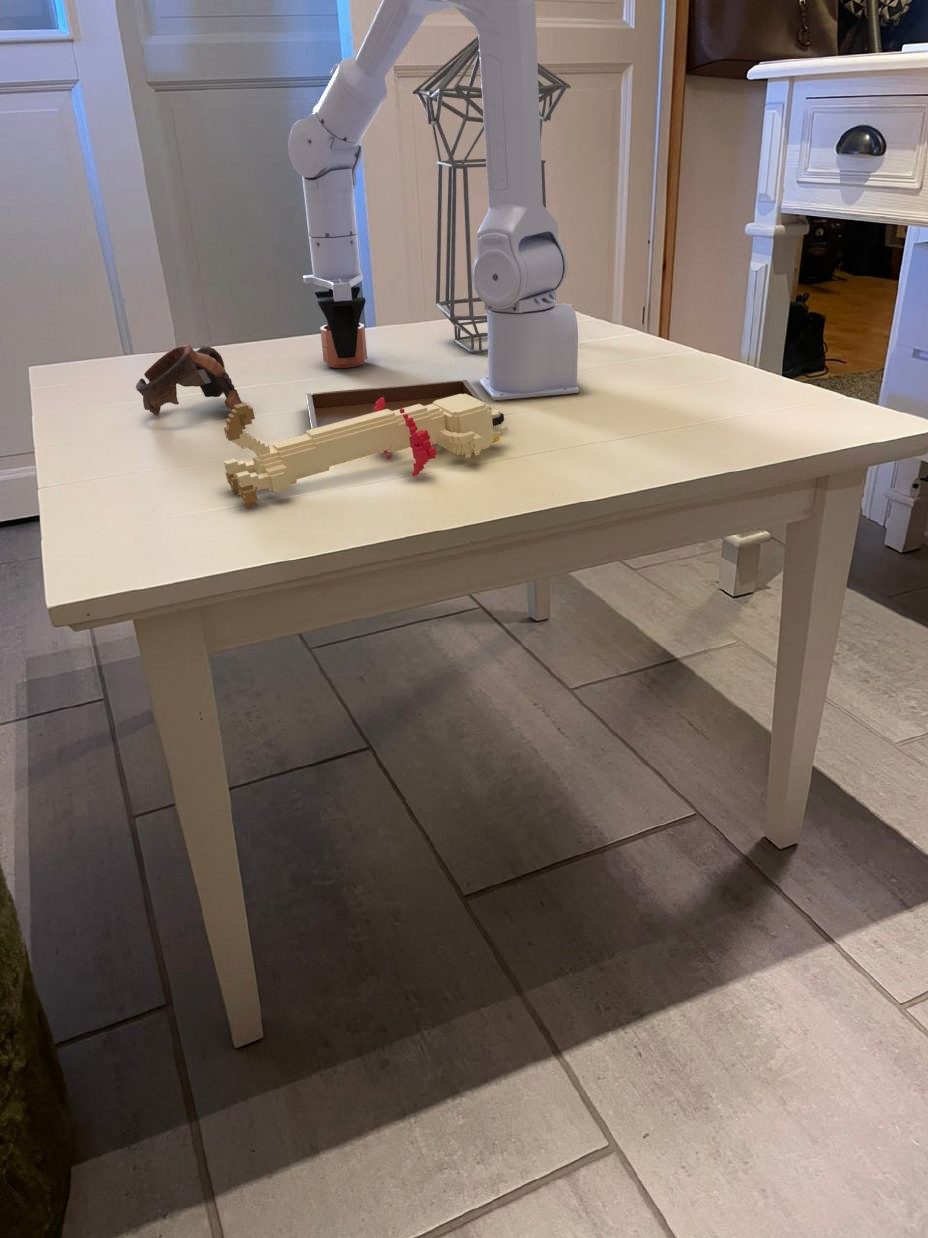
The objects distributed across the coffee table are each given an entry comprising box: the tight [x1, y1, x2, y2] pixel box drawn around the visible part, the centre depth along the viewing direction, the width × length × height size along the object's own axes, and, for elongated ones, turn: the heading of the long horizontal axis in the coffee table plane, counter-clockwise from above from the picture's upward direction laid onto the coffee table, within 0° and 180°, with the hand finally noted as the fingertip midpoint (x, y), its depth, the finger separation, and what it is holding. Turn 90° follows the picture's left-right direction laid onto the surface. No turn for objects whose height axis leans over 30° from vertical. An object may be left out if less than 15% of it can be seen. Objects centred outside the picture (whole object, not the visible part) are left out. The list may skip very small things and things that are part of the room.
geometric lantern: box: [412, 35, 572, 354], centre depth 116 cm, size 16×16×35 cm
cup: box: [319, 322, 368, 369], centre depth 116 cm, size 5×6×4 cm
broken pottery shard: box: [135, 343, 243, 417], centre depth 99 cm, size 12×10×8 cm
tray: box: [305, 379, 485, 430], centre depth 94 cm, size 17×13×2 cm
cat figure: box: [223, 394, 509, 509], centre depth 80 cm, size 10×9×25 cm
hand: (344, 351), depth 117 cm, fingers closed on cup, 5 cm apart
